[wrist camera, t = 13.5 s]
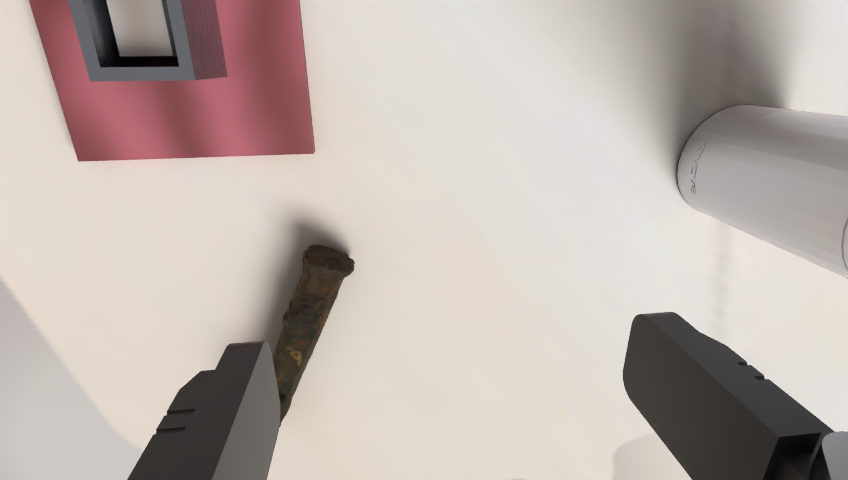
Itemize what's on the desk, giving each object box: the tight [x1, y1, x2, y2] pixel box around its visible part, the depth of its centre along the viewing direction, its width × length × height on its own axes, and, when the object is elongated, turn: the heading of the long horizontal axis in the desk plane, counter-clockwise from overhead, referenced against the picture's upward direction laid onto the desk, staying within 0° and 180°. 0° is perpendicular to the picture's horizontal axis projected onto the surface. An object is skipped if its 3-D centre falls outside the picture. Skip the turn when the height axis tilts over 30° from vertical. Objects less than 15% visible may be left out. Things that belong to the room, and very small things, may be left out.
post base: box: [29, 0, 315, 161], centre depth 27 cm, size 16×16×6 cm
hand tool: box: [273, 245, 355, 427], centre depth 37 cm, size 19×4×5 cm, turn 154°
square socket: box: [68, 0, 228, 82], centre depth 26 cm, size 5×5×6 cm
